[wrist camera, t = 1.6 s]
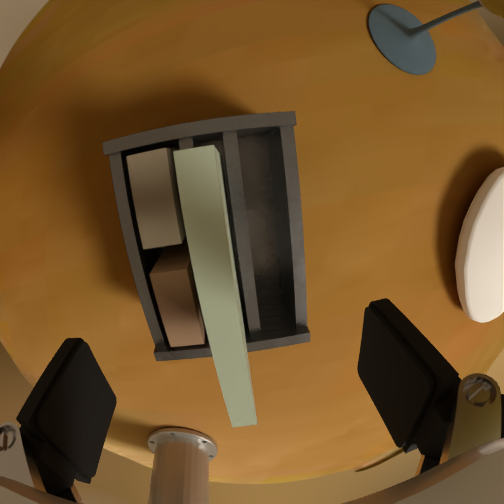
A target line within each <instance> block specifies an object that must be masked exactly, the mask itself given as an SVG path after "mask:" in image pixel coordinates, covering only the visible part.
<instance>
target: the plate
mask: <svg viewBox="0 0 504 504" xmlns="http://www.w3.org/2000/svg"><path fill="white" fill-rule="evenodd" d="M455 271H456V281H457V290H458V295H459V300H460V303H461V305H462V308H463V311H464V312H465V314H466V315H467V316H468V317H469V318H470V319H472V320H474V321H477V322H480V323H484V322H489V321H491V320H493V319H495V318H496V317H498V316H499V315H500V314H502V313H503V312H504V167H502V168H499V169H496V170H494V171H493V172H492V173H491V174H490V175H489V176H488V177H487V178H486V180H485V181H484V183H483V184H482V186H481V187H480V188H479V190H478V192H477V194H476V195H475V197H474V199H473V201H472V203H471V205H470V207H469V209H468V212H467V214H466V216H465V218H464V221H463V225H462V228H461V232H460V235H459V239H458V246H457V253H456V259H455Z"/></svg>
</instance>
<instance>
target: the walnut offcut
mask: <svg viewBox="0 0 504 504" xmlns="http://www.w3.org/2000/svg"><path fill="white" fill-rule="evenodd" d="M150 278H151V282H152V286H153V290H154V293H155V297H156V300H157V304H158V307H159V311H160V314H161V318H162V321H163V324H164V327H165V331H166V334H167V337H168V340H169V343H170V346H171V347H177V346H188V345H198V344H204V339H205V323H204V319H203V314H202V310H201V305H200V301H199V296H198V292H197V287H196V282H195V277H194V273H193V268H192V263H191V257H190V252H189V247H188V242H187V241H184V242H182V244H175V245H169V246H166V248H165V249H164V251H163V253H162V254H161V256H160V257H159V259H158V261H157V262H156V264H155V266H154V267H153V269H152V271H151V272H150Z"/></svg>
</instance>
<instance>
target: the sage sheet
mask: <svg viewBox="0 0 504 504" xmlns="http://www.w3.org/2000/svg"><path fill="white" fill-rule="evenodd" d="M173 154H174V161H175V168H176V175H177V182H178V189H179V195H180V201H181V207H182V213H183V219H184V225H185V231H186V236H187V242H188V247H189V252H190V257H191V263H192V268H193V273H194V277H195V282H196V287H197V292H198V296H199V301H200V305H201V310H202V314H203V319H204V323H205V327H206V331H207V335H208V340H209V344H210V348H211V352H212V356H213V359H214V363H215V367H216V371H217V375H218V378H219V382H220V386H221V389H222V393H223V396H224V400H225V403H226V407H227V410H228V414H229V417H230V420H231V424H232V427H240V426H248V425H256V424H257V417H256V410H255V404H254V397H253V390H252V382H251V375H250V368H249V361H248V353H247V346H246V339H245V331H244V323H243V316H242V308H241V300H240V292H239V285H238V278H237V271H236V264H235V257H234V250H233V243H232V236H231V229H230V222H229V214H228V207H227V200H226V192H225V185H224V177H223V169H222V161H221V155H220V154H219V152H218V151H217V149H216V148H215V146H214V145H209V146H203V147H196V148H190V149H184V150H179V151H173Z"/></svg>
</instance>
